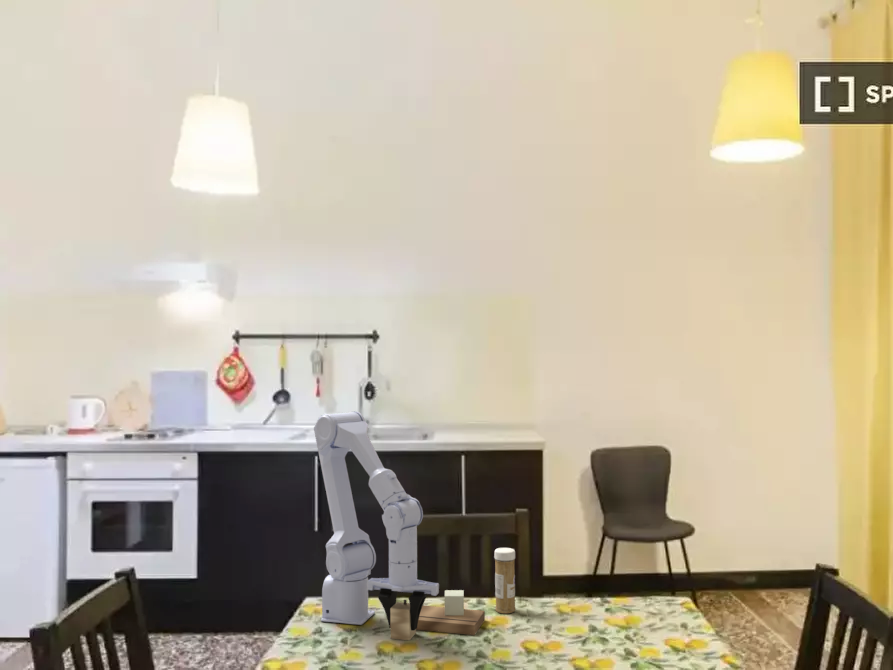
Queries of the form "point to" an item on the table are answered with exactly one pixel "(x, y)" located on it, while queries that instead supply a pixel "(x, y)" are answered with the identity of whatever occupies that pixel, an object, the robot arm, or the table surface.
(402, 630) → the block
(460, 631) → the plank
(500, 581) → the sprinkles bottle
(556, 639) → the table surface
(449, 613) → the offcut block
